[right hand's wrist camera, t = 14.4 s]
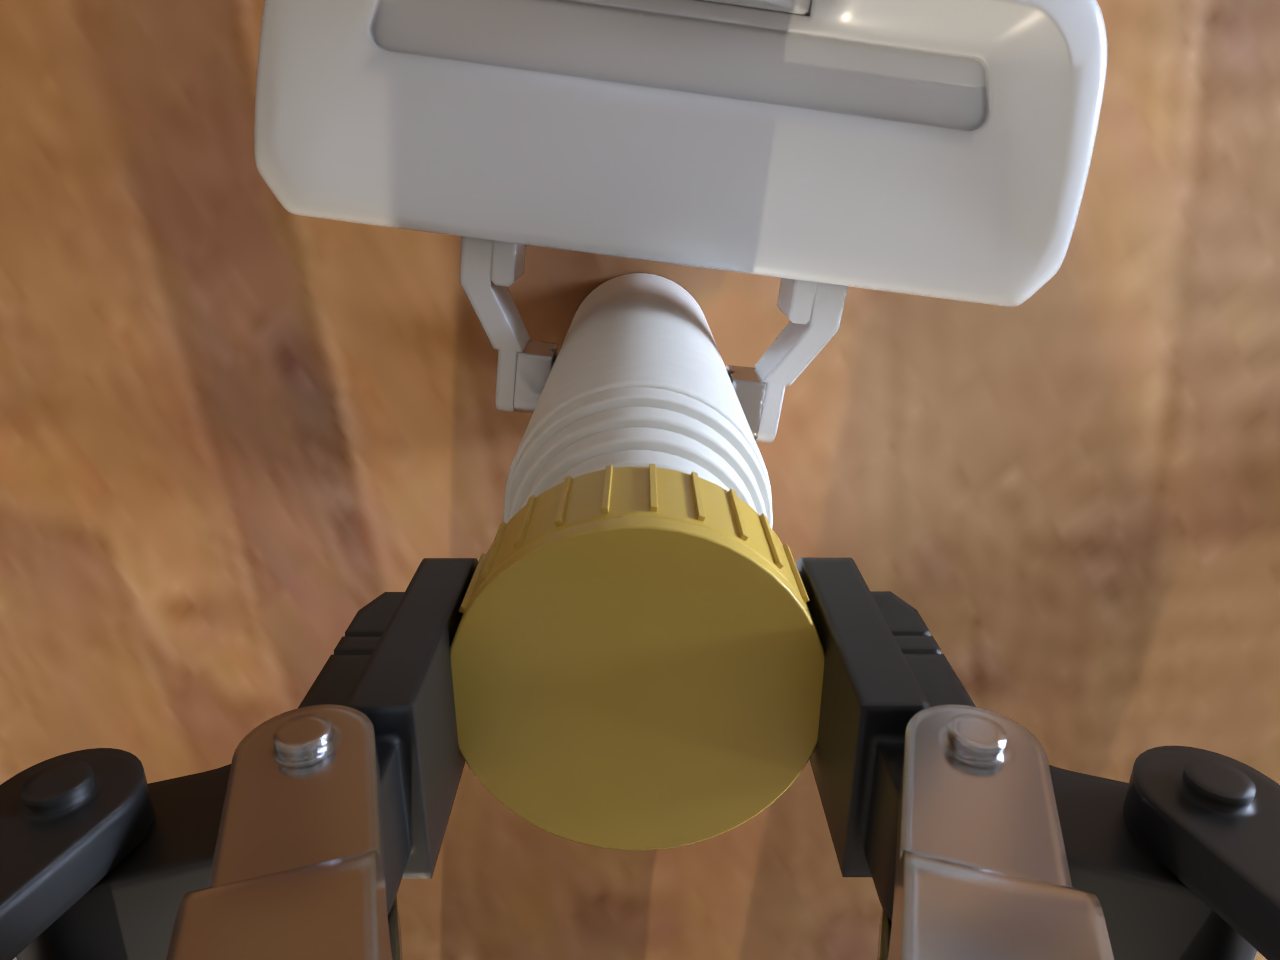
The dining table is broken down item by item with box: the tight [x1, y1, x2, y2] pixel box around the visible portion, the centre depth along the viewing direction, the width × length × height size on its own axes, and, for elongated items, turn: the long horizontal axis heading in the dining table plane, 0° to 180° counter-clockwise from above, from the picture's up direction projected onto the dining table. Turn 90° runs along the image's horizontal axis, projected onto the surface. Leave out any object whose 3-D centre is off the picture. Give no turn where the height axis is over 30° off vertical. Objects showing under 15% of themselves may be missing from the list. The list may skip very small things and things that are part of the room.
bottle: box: [503, 273, 773, 529], centre depth 20 cm, size 5×5×21 cm
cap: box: [450, 464, 825, 850], centre depth 11 cm, size 5×5×2 cm
